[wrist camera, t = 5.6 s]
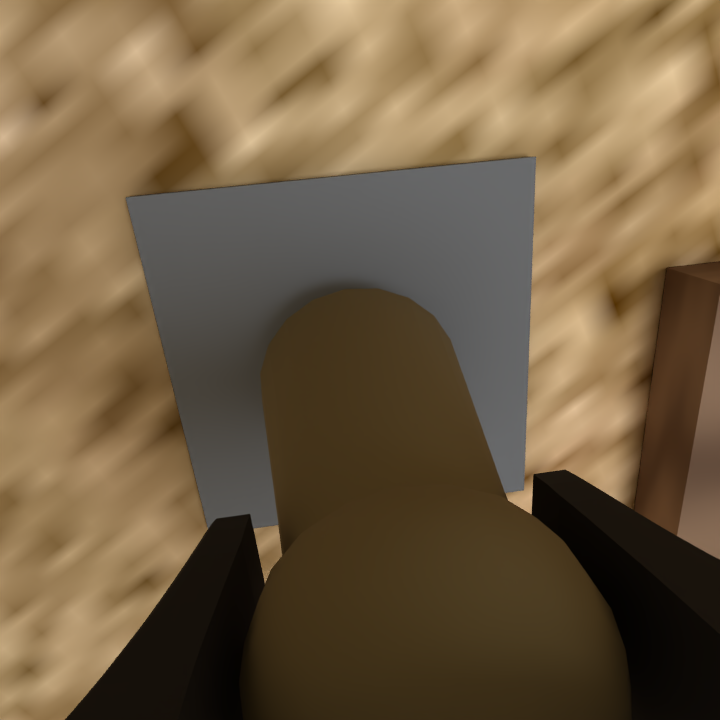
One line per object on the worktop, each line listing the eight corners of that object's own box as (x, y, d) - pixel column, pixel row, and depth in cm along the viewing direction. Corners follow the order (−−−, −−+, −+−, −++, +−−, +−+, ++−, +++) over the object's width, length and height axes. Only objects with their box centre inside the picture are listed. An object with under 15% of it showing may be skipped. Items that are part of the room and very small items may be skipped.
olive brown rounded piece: (359, 499, 17) (438, 990, 7) (216, 389, 15) (54, 866, 5) (496, 379, 16) (818, 773, 6) (361, 242, 14) (511, 500, 4)
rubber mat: (518, 482, 20) (523, 490, 20) (211, 525, 20) (209, 534, 19) (529, 156, 16) (535, 157, 15) (130, 196, 15) (125, 197, 15)
